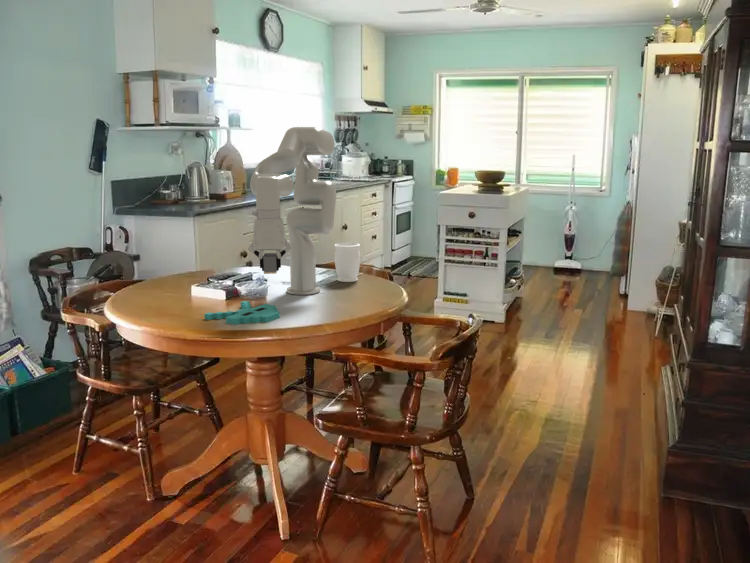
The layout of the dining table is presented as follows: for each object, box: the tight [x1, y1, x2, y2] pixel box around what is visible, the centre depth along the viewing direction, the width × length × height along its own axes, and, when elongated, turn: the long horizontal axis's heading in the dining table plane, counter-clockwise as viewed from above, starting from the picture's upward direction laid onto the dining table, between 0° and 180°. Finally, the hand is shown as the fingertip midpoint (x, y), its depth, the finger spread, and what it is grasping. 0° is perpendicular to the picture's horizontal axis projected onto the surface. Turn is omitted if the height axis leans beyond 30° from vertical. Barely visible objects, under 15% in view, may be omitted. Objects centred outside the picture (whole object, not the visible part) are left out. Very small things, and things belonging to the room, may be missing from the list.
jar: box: [333, 242, 361, 283], centre depth 278 cm, size 11×10×15 cm
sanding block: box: [263, 252, 278, 275], centre depth 223 cm, size 7×4×6 cm, turn 6°
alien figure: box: [204, 300, 281, 325], centre depth 224 cm, size 20×2×20 cm
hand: (270, 269), depth 224 cm, fingers closed on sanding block, 4 cm apart
